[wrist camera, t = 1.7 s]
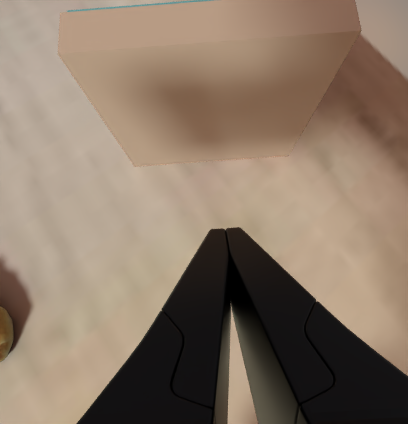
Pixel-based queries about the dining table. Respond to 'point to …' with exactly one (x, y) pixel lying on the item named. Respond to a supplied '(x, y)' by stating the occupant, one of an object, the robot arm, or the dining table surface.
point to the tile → (207, 73)
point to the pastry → (5, 333)
